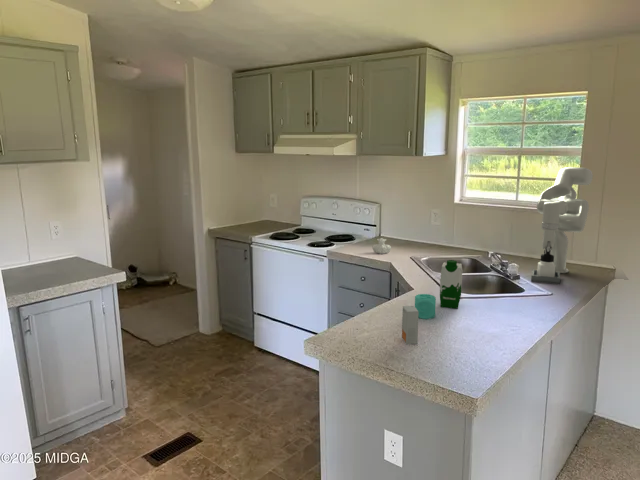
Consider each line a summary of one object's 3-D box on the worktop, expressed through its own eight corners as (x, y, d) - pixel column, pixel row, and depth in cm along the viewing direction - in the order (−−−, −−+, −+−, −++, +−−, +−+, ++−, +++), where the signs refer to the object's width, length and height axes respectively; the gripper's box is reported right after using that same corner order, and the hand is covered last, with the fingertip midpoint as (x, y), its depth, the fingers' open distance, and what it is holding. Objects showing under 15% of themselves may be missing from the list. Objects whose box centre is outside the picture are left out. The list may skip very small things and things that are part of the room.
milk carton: (438, 307, 204) (440, 261, 200) (440, 301, 213) (442, 257, 209) (459, 310, 201) (462, 263, 198) (461, 303, 210) (463, 258, 206)
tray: (531, 275, 256) (532, 269, 255) (559, 277, 250) (559, 272, 250) (531, 281, 244) (531, 275, 243) (559, 284, 239) (560, 278, 238)
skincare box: (401, 337, 172) (402, 305, 170) (413, 337, 172) (414, 305, 170) (405, 344, 166) (406, 311, 164) (417, 344, 167) (419, 311, 164)
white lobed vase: (371, 256, 310) (371, 244, 301) (372, 247, 315) (372, 235, 306) (390, 257, 308) (390, 245, 299) (391, 248, 313) (391, 236, 304)
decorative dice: (434, 313, 198) (435, 294, 196) (435, 319, 190) (435, 300, 189) (414, 311, 199) (415, 293, 198) (414, 318, 192) (414, 299, 190)
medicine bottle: (554, 279, 243) (556, 256, 241) (539, 278, 245) (541, 255, 242) (551, 276, 250) (553, 253, 247) (536, 275, 251) (538, 252, 249)
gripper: (541, 223, 251) (539, 255, 254) (541, 228, 236) (538, 262, 239) (558, 224, 248) (555, 257, 251) (558, 229, 233) (555, 264, 236)
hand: (547, 259), depth 245 cm, fingers open, 9 cm apart
